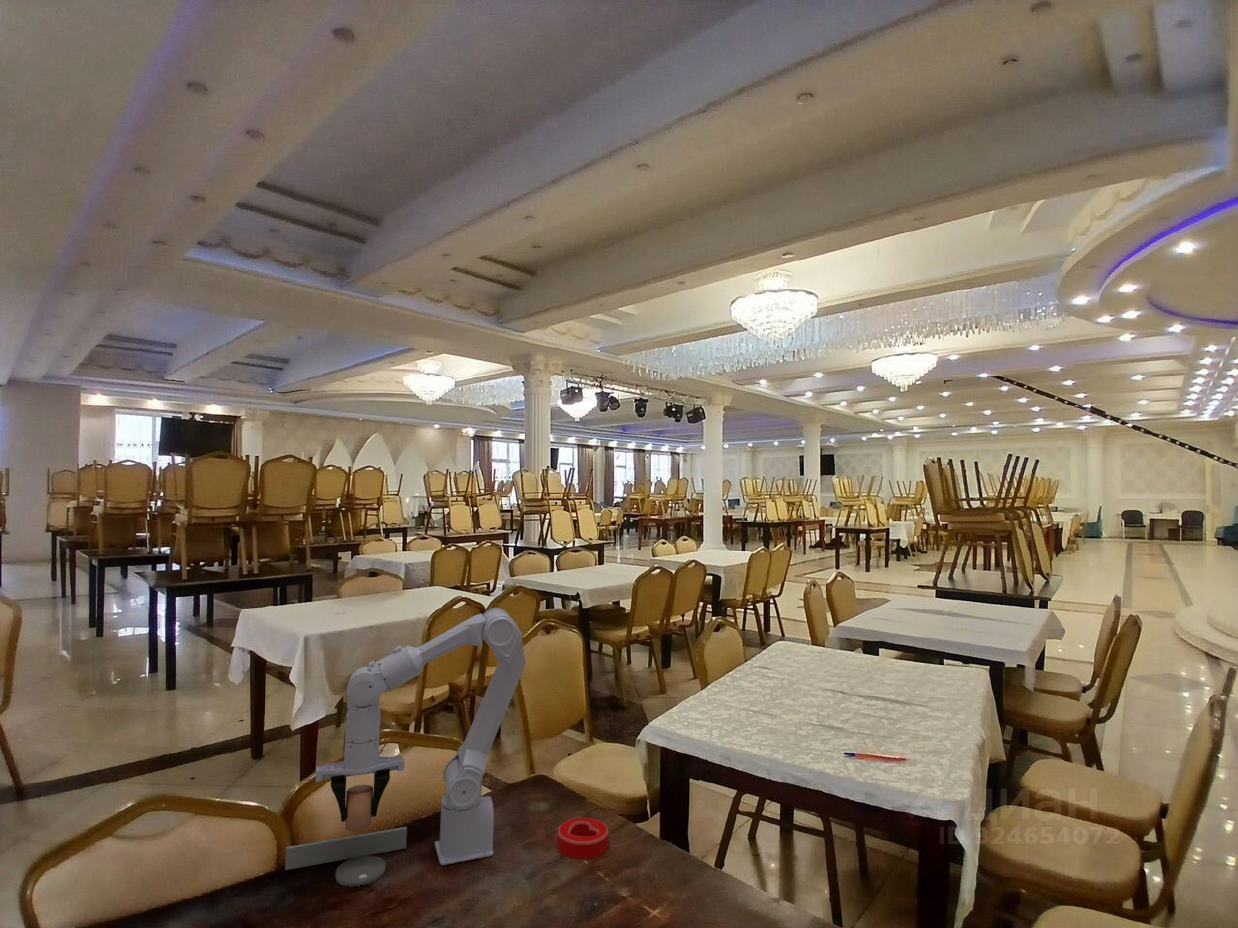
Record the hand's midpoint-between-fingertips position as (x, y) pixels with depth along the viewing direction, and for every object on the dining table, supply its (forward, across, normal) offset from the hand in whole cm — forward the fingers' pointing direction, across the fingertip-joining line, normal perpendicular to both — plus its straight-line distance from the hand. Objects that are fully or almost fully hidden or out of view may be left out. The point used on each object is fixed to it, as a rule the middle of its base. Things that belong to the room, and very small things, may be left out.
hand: (358, 816), depth 113 cm
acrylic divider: (+8, +1, -3) cm, 9 cm away
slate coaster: (+8, -1, +3) cm, 9 cm away
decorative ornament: (+9, -40, +7) cm, 41 cm away
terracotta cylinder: (+1, 0, 0) cm, 1 cm away
